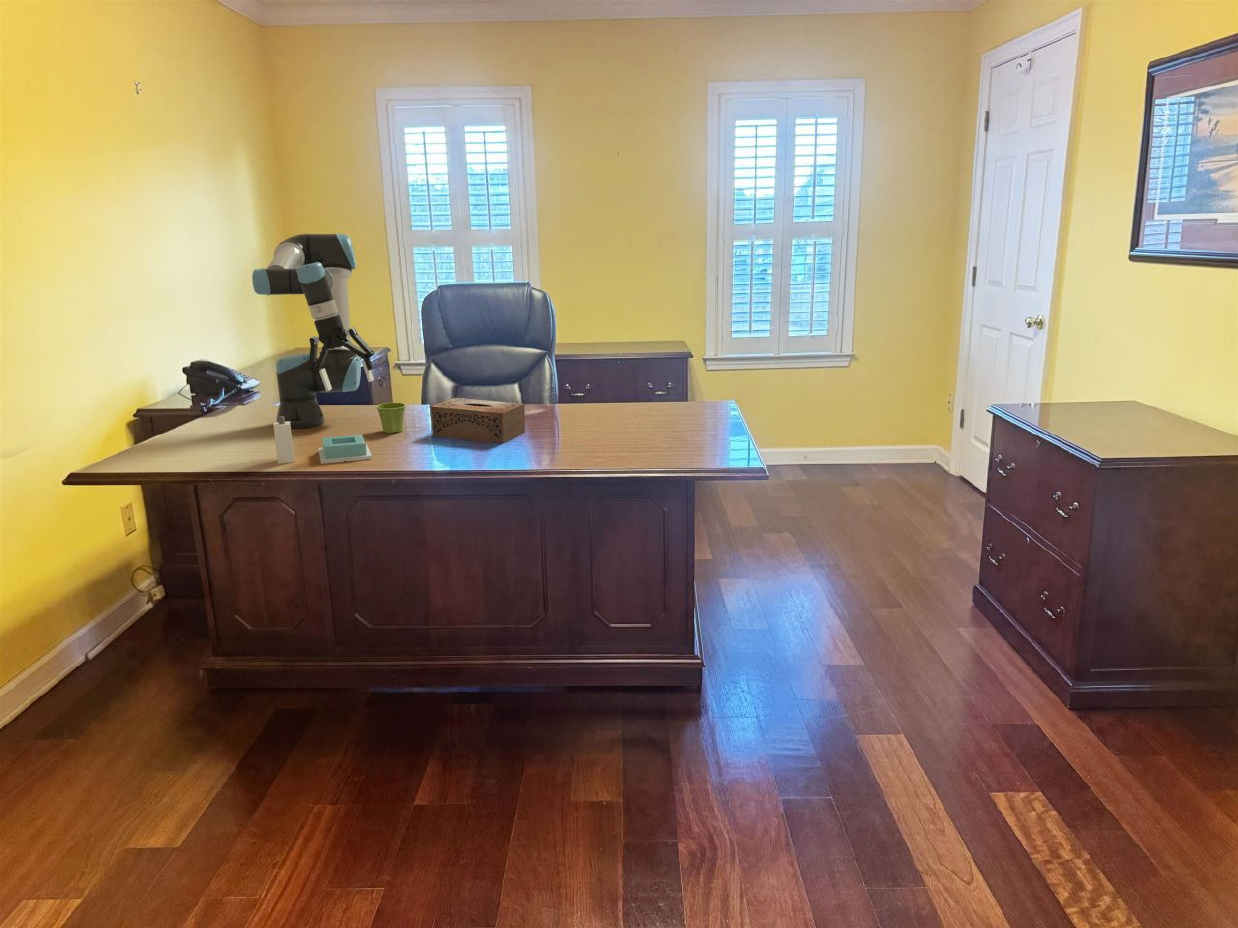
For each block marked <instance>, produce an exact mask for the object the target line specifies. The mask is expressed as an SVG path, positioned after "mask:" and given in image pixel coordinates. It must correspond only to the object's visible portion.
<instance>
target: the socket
mask: <svg viewBox="0 0 1238 928" xmlns="http://www.w3.org/2000/svg"><path fill="white" fill-rule="evenodd" d="M321 441H322V447H320V448H317V450H318V455H319V461H320V464H321V465H323V464H335V463H345V462H344V461H347V462H355V461H364V460H367V459H368V460H373V456H372V453H371V451H370V448H369V446H368V444H367V442H366V441H365V437H364V435H363V434H351V435H340V436H339V435H338V436H326V437H321Z"/></svg>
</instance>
